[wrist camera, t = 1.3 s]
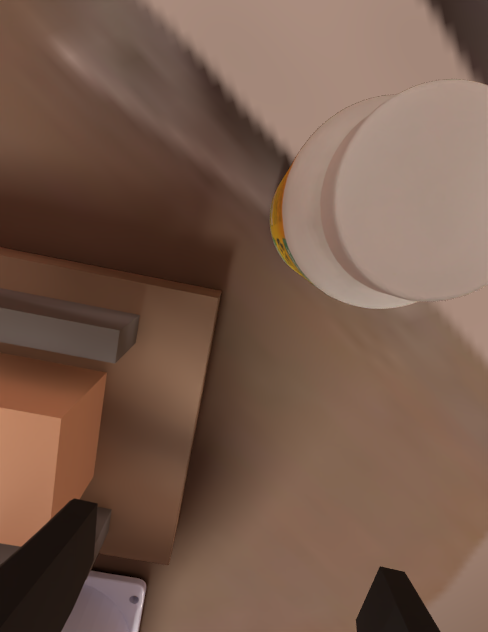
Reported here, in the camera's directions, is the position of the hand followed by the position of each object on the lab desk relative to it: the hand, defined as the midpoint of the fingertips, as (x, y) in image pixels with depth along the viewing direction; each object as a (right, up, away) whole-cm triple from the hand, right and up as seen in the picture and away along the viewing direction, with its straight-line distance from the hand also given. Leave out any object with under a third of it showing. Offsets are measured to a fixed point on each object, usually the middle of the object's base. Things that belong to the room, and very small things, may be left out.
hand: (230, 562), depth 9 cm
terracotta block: (-8, +2, +7) cm, 11 cm away
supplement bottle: (+4, +10, +7) cm, 13 cm away
